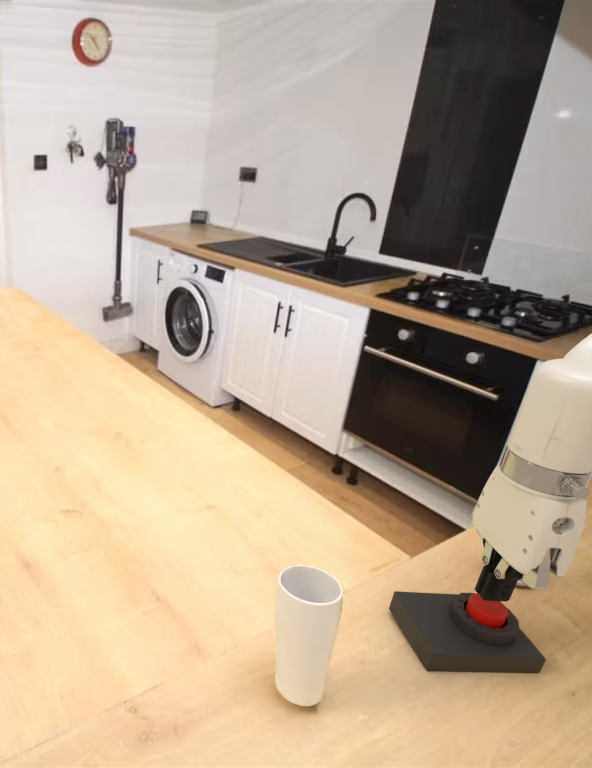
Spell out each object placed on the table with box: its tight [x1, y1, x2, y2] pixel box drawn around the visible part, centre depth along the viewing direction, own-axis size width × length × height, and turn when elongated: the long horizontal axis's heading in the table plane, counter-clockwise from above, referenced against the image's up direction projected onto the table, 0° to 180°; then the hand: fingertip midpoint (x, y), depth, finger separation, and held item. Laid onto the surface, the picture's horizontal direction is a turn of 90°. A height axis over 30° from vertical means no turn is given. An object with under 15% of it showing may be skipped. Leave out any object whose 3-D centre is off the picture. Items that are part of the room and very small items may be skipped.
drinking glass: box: [274, 564, 344, 707], centre depth 61 cm, size 7×7×15 cm
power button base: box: [388, 590, 547, 674], centre depth 69 cm, size 13×10×5 cm
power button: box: [466, 592, 508, 628], centre depth 68 cm, size 4×4×2 cm
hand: (491, 595), depth 67 cm, fingers closed
